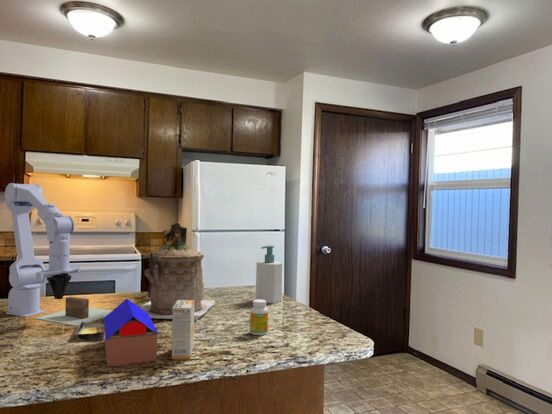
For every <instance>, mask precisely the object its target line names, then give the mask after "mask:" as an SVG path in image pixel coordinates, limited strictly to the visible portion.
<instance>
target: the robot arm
mask: <svg viewBox="0 0 552 414" xmlns="http://www.w3.org/2000/svg"><path fill="white" fill-rule="evenodd" d="M4 199H5V205H6V209H7V210H8V211H10V212H11V219H12V228H13V234H14V241H15V242H14V243H15V248H16V255H17V259H16V260H15V261H14V262H13V263H12V264H10V266H9V275H8V281H9V283H10V286H11V287H12V288H11V289H10V290H9V292H8V298H7V299H8V303H7V304H8V305H7V308H8V311H6V312H5V314H6V315H13V316H18V317H23V318H25V317H26V318H27V317H30V316H34V315H38V314H42V313H46V311H47V310H45V309H41V305H40V304H41V303H40V302H41V287H43V284H44V283H45V281H46V280H47V283H49V286H50V288H51V290H52V293H53V298H54V299H55V300H62V299H64V295H65V292H66V289H67V286H68V284H69V282H70V281H71V279H72V274H74V273H77V274H79V273H81V266H78V265H75V266H70V248H71V247H70V244H71V234H73V233H74V230H75V223H74V219H73V218H72V217H71V216H70V215H69V216H68V215H63V214H62V212H61V211H60V210H59V209H58V208H57V206H56V205H55V204H54V203H49V202H47V200H46V198H45V197H44V196H43V188H42V187H41V185H40V184H36V183H35V184H32V183H31V184H29V183H14V182H10V183H8V185H6V187H5V191H4ZM33 210H37V212H36V213H37V217H39V219H40V221H42V222H43V224H44V225H45V226H44V227H45V228H44V229H45V233H46V235H47V241H49V243H48V244H49V245H48V246H49V247H48V269H45V266H44V262H43V261H42V260H40V259H39V258H37V257H36V256H35V251H34V241H33V236H32V229H31V228H32V227H31V223H30V221H31V220H30V216H29V213H30V211H33Z"/></svg>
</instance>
